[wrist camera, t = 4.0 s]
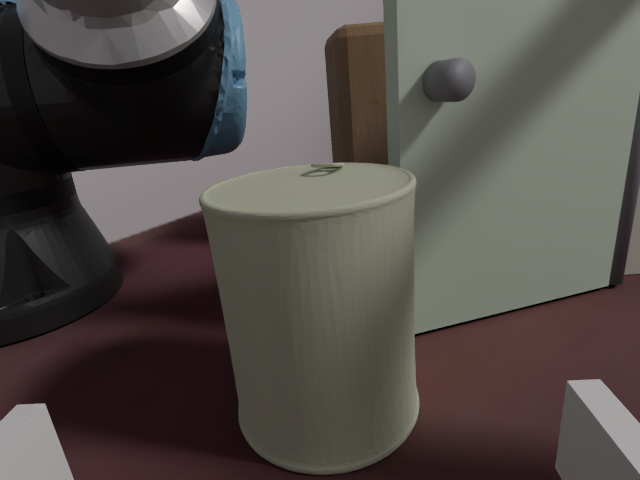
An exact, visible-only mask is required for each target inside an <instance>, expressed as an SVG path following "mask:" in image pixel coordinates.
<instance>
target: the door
mask: <svg viewBox="0 0 640 480" xmlns="http://www.w3.org/2000/svg"><path fill="white" fill-rule="evenodd" d="M383 5H384V41H385V74H386V108H387V141H388V165H389V166H394V167H398V168H402V169H405V170H407V171H409V172H411V173H412V174H413V175H414V176H415V178H416V187H415V204H414V324H415V334H417V333H421V332H425V331H429V330H433V329H437V328H441V327H445V326H449V325H453V324H457V323H461V322H465V321H469V320H473V319H477V318H481V317H485V316H489V315H493V314H497V313H501V312H505V311H509V310H513V309H517V308H521V307H525V306H529V305H533V304H537V303H541V302H545V301H549V300H553V299H557V298H561V297H565V296H569V295H573V294H577V293H581V292H585V291H589V290H593V289H597V288H601V287H605V286H608V285H618V284H621V283H623V278H624V272H625V267H626V261H627V255H628V249H629V244H630V238H631V232H632V227H633V221H634V215H635V209H636V204H637V198H638V192H639V186H640V0H383Z"/></svg>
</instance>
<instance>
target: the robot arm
mask: <svg viewBox="0 0 640 480" xmlns="http://www.w3.org/2000/svg"><path fill="white" fill-rule="evenodd" d="M245 62H246V59H245V46H244V35H243V27H242V21H241V16H240V10H239V7H238V4H237V2H236V1H235V0H0V346H1V345H6V344H10V343H13V342H17V341H20V340H24V339H27V338H30V337H33V336H36V335H39V334H42V333H45V332H47V331H50V330H53V329H55V328H58V327H60V326H63V325H65V324H67V323H69V322H71V321H74V320H76V319H78V318H80V317H82V316H84V315H85V314H87V313H89V312H91V311H93V310H94V309H96V308H97V307H99V306H101V305H102V304H103V303H105V302H106V301H107V300H109V299H110V298H111V297H112V296H113V295H114V294H115V293H116V292H117V291H118V290H119V288H120V287H121V285H122V283H123V276H122V272H121V268H120V265H119V261H118V258H117V256H116V254H115V252H114V251H113V249H111V248H110V246H109V245H108V243H107V241H106V240H105V238H104V237H103V235H102V234H101V232H100V231H99V229H98V228H97V227H96V225H95V223H94V222H93V221H92V219H91V218H90V216H89V215H88V214H87V212H86V211H85V209H84V208H83V207H82V205H81V203H80V201H79V199H78V196H77V193H76V189H75V185H74V182H73V178H72V174H71V172H76V171H85V170H93V169H103V168H112V167H124V166H135V165H145V164H155V163H167V162H177V161H188V160H192V161H198V160H200V159H202V158H204V157H208V156H214V155H220V154H226V153H230V152H232V151H234V150H235V149H236V148H237V147H238V146H239V145H240V144H241V142H242V140H243V137H244V133H245V126H246V111H247V89H246V81H245V74H246V73H245ZM555 468H556V470H557V472H558V474H559V475H560V477H561V479H562V480H640V423H639V422H638V421H637V420H636V419H635V418H634V417H633V416H632V414H631V413H630V412H629V411H628V410H627V409H626V408H625V407H624V405H623V404H622V403H621V402H620V401H619V400H618V399H617V398H616V397H615V395H614V394H613V393H612V392H611V391H610V390H609V389H608V388H607V386H606V385H605V384H604V383H603V382H602V381H601V380H600V379H595V380H572V381H567V384H566V391H565V399H564V406H563V413H562V420H561V428H560V435H559V442H558V450H557V457H556V464H555ZM0 480H74V479H73V476H72V474H71V471H70V468H69V466H68V463H67V460H66V458H65V455H64V452H63V450H62V447H61V444H60V442H59V439H58V436H57V434H56V431H55V428H54V426H53V423H52V421H51V418H50V415H49V413H48V410H47V407H46V405H45V403H44V404H21V405H16V406H15V407H14V408H13V409H12V410H11V411H10V412H9V413H8V414H7V415H6V416H5V417H4V418H3V419H2V420H1V421H0Z"/></svg>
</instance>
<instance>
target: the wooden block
mask: <svg viewBox="0 0 640 480" xmlns="http://www.w3.org/2000/svg"><path fill="white" fill-rule="evenodd" d="M325 60H326V72H327V86H328V100H329V114H330V127H331V141H332V154H333V163H372V164H382V165H388V141H387V108H386V74H385V41H384V22H375V23H365V24H364V23H363V24H351V25H344V26H342V27H340V28H338V29H337V30H336V31H335V32H334V33H333V34H332V35H331V36H330V37H329V38H328V39H327V42H326V45H325Z"/></svg>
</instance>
